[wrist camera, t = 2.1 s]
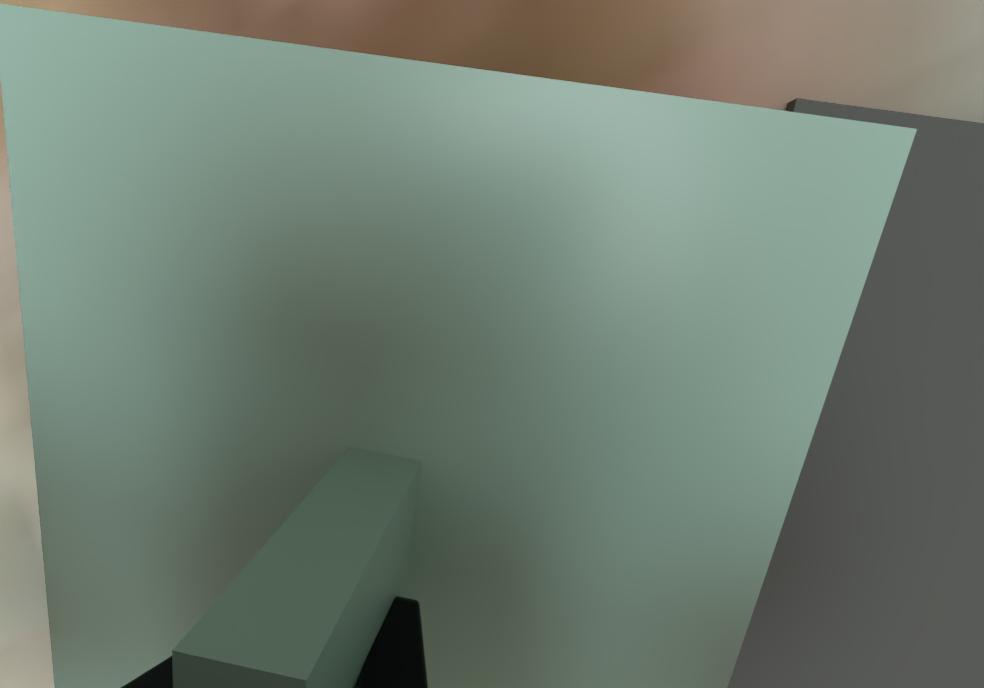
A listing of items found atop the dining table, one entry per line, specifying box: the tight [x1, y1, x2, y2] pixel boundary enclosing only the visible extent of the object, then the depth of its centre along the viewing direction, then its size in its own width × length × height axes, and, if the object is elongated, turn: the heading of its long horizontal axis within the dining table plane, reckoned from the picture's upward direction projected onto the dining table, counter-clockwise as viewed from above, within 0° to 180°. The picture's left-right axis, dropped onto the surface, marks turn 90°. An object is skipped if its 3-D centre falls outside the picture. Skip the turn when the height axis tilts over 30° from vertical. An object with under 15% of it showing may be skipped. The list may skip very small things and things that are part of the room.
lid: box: [0, 4, 917, 688], centre depth 8 cm, size 17×13×6 cm
